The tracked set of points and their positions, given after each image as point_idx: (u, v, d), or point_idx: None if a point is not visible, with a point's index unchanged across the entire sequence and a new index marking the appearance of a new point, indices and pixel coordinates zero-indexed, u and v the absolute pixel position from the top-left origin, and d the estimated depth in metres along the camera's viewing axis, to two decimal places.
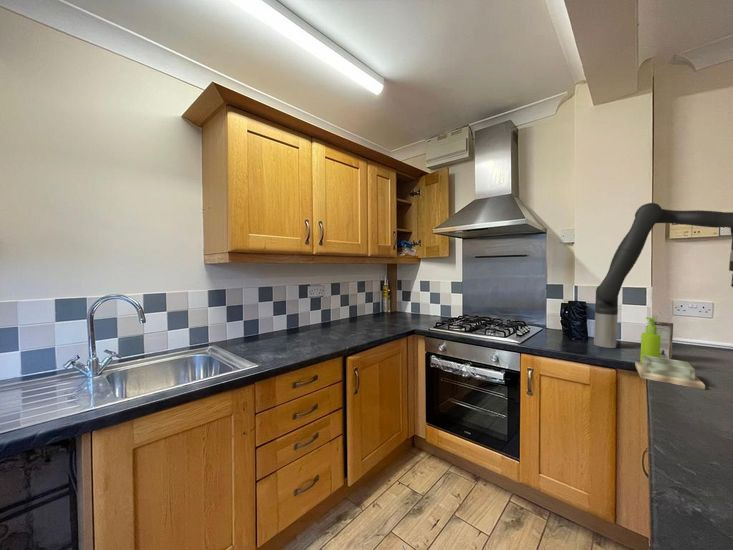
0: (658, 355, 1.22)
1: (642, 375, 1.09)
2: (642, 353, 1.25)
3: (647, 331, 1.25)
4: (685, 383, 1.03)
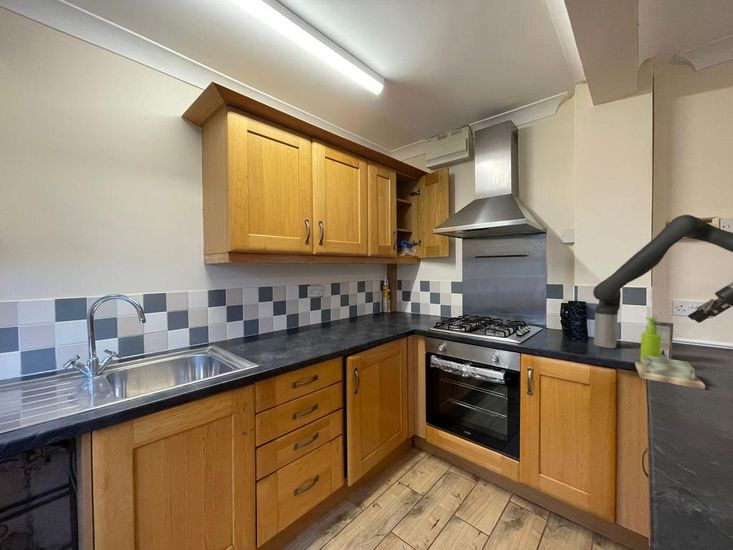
0: (658, 355, 1.22)
1: (642, 375, 1.09)
2: (642, 353, 1.25)
3: (647, 331, 1.25)
4: (685, 383, 1.03)
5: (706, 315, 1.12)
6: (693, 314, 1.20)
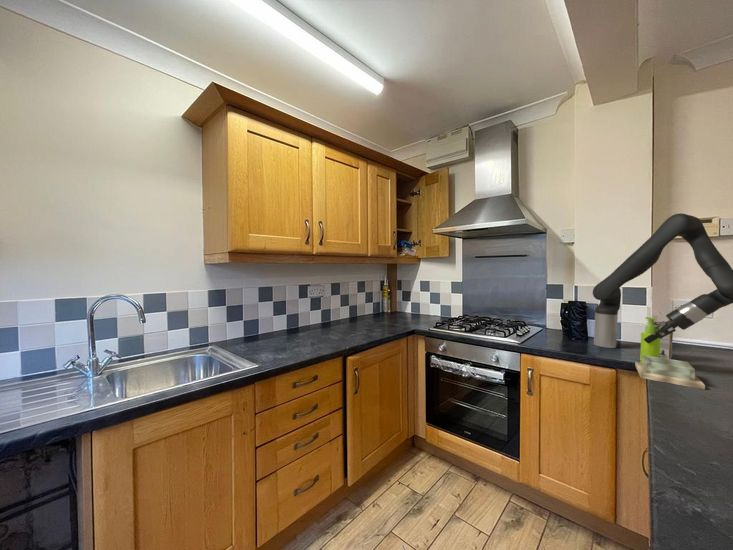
0: (658, 354, 1.22)
1: (642, 375, 1.09)
2: (642, 353, 1.25)
3: (646, 331, 1.25)
4: (685, 383, 1.03)
5: (654, 336, 1.21)
6: None
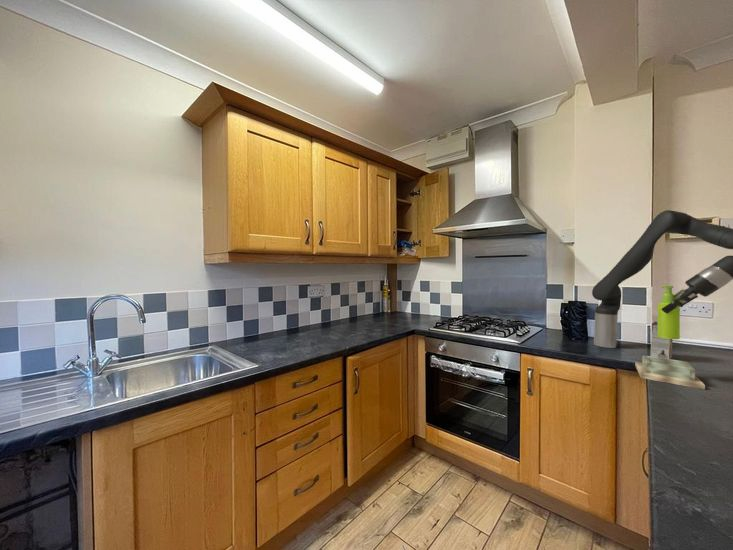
0: (678, 326, 1.10)
1: (642, 375, 1.09)
2: (660, 325, 1.13)
3: (664, 300, 1.13)
4: (685, 383, 1.03)
5: (673, 305, 1.09)
6: None
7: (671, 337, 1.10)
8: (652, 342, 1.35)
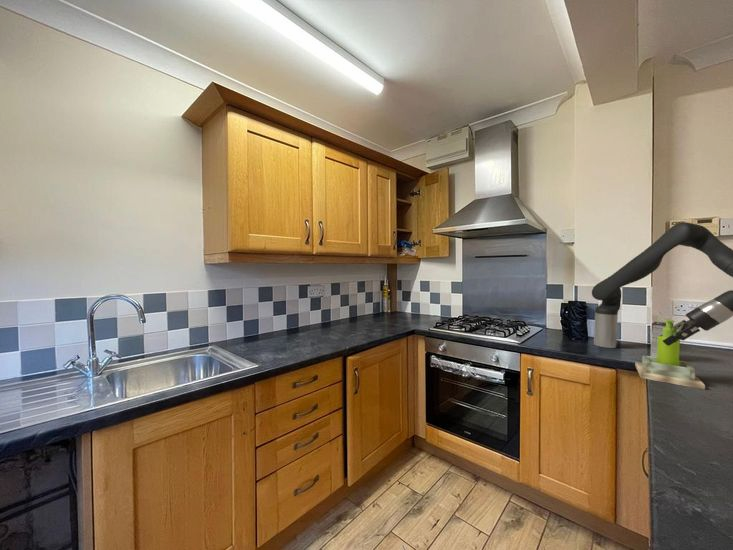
0: (677, 361, 1.09)
1: (642, 375, 1.09)
2: (659, 359, 1.12)
3: (664, 334, 1.11)
4: (685, 383, 1.03)
5: (675, 338, 1.06)
6: None
7: None
8: (652, 342, 1.35)
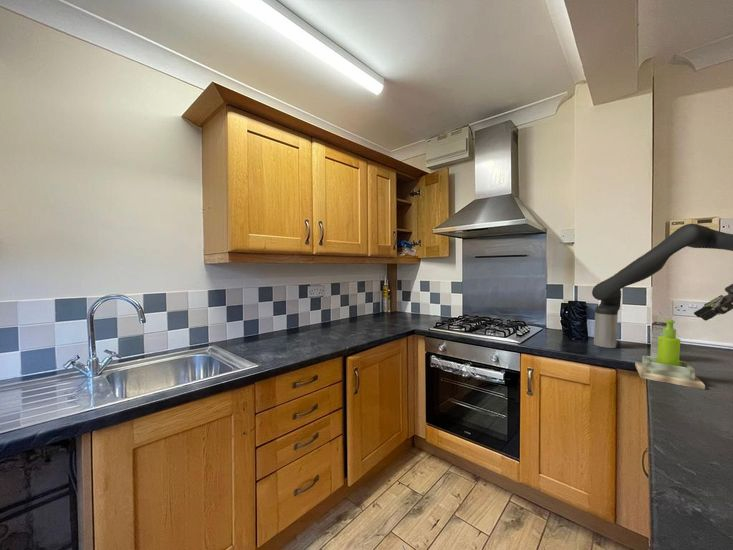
0: (677, 362, 1.09)
1: (642, 375, 1.09)
2: (659, 359, 1.12)
3: (665, 334, 1.11)
4: (685, 383, 1.03)
5: (714, 312, 1.02)
6: (700, 311, 1.10)
7: None
8: (652, 342, 1.35)
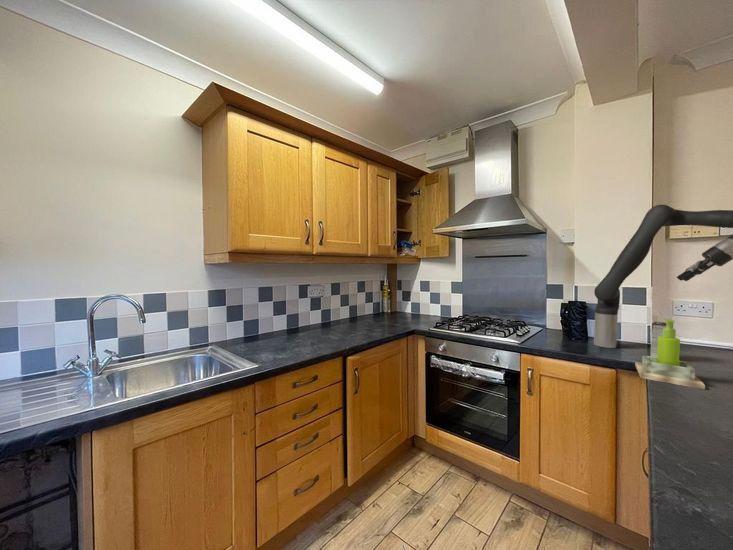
0: (677, 361, 1.09)
1: (642, 375, 1.09)
2: (659, 359, 1.12)
3: (664, 334, 1.11)
4: (685, 383, 1.03)
5: (693, 273, 1.20)
6: (681, 275, 1.28)
7: None
8: (652, 342, 1.35)
